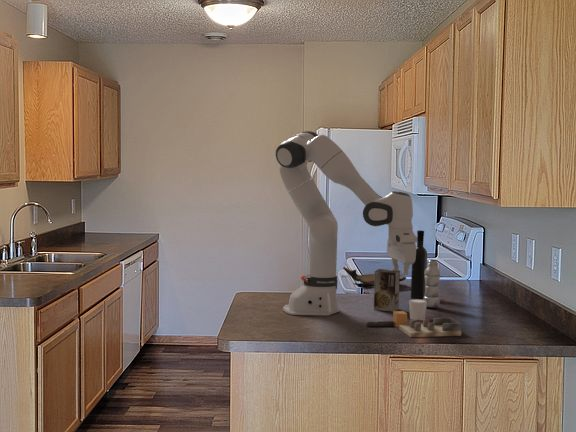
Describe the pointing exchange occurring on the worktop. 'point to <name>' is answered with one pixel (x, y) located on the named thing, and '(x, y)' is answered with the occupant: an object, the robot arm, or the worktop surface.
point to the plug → (398, 319)
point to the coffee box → (386, 290)
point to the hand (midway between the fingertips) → (400, 272)
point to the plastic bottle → (432, 284)
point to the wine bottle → (419, 269)
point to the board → (432, 328)
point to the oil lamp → (365, 277)
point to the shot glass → (417, 309)
